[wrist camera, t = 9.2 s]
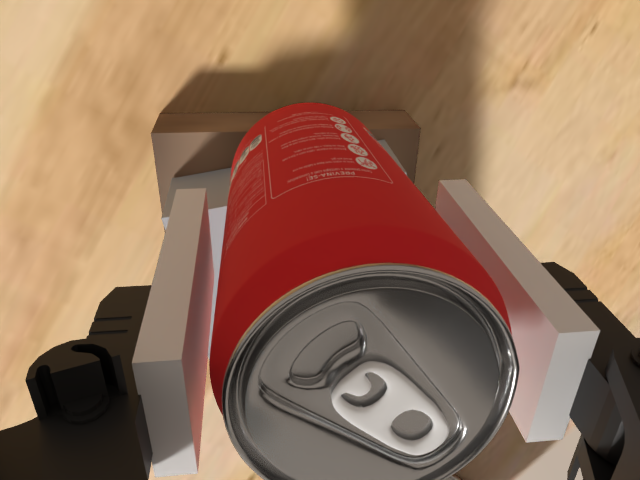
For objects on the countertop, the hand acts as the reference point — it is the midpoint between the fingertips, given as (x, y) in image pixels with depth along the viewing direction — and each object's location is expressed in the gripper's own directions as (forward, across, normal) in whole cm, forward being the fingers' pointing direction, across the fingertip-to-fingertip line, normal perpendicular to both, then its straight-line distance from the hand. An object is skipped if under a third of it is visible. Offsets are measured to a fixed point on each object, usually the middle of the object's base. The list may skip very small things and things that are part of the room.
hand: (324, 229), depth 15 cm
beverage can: (+5, 0, 0) cm, 5 cm away
